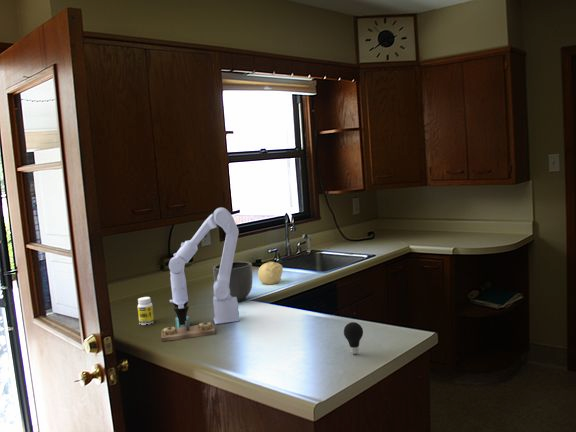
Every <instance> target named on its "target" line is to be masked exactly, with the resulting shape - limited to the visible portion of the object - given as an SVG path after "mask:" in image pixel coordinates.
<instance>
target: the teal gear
mask: <svg viewBox="0 0 576 432" xmlns="http://www.w3.org/2000/svg"><path fill="white" fill-rule="evenodd" d="M186 320H188V321H189V326H191V322H190V320H191V319H190V316H189V315H187V316H186ZM174 321H175V328H180V327H186V324H185V325H180V323H179V320H178V316H176V317H175V320H174Z"/></svg>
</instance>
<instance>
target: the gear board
mask: <svg viewBox="0 0 576 432" xmlns="http://www.w3.org/2000/svg"><path fill="white" fill-rule="evenodd" d="M185 324H186V327H180V328H177V327H176V326H167V327H164V328H163V329H161V334H160V335H161V342H168V341H175V340H182V339H188V338H196V337H202V336H208V335H214V334H216V329H215V326H214V323H213V322H212V321H203V322H199V324H196V325H189V321H188V320H186V321H185Z"/></svg>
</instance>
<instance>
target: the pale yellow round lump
mask: <svg viewBox="0 0 576 432" xmlns="http://www.w3.org/2000/svg"><path fill="white" fill-rule="evenodd" d="M283 269H284V267H283V265H282V264H280V263H279V262H275V261H267V262H266V263H263V264H262V265H261V266H260V267H259V268H258V272H257V278H258V280H259V281H260V283H262V284H265V285H274V284H278V283H279V282H280V281H281V279H282V275H283Z"/></svg>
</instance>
